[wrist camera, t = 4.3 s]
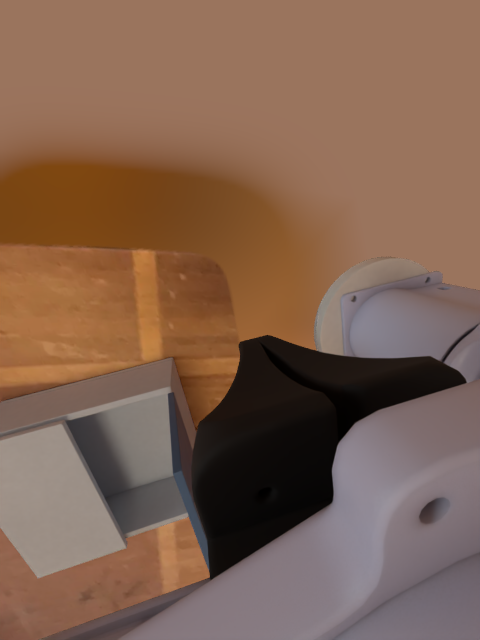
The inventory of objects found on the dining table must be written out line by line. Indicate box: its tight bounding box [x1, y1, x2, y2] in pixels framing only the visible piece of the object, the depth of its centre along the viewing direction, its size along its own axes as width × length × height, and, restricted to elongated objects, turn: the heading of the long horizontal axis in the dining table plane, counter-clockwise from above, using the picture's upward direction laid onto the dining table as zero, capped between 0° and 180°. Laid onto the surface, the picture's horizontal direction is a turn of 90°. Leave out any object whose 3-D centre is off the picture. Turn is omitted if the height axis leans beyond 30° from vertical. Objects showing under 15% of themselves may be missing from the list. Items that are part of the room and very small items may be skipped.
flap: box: [168, 392, 210, 572], centre depth 16 cm, size 6×12×1 cm
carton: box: [0, 357, 196, 578], centre depth 21 cm, size 13×12×5 cm
